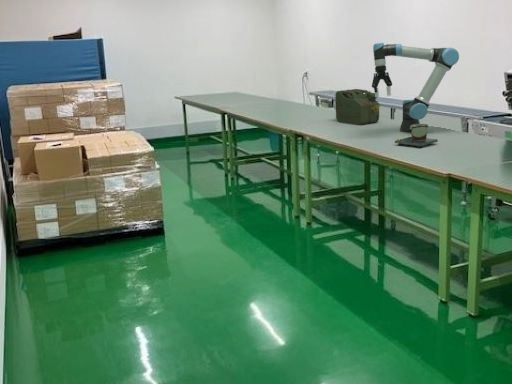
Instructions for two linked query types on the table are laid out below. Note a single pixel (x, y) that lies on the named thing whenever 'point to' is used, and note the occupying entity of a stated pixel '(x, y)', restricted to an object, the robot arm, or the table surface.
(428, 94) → the robot arm
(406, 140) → the levelling stand
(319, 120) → the table surface
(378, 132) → the table surface
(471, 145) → the table surface
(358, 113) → the fuel can
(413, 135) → the food container
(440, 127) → the table surface
